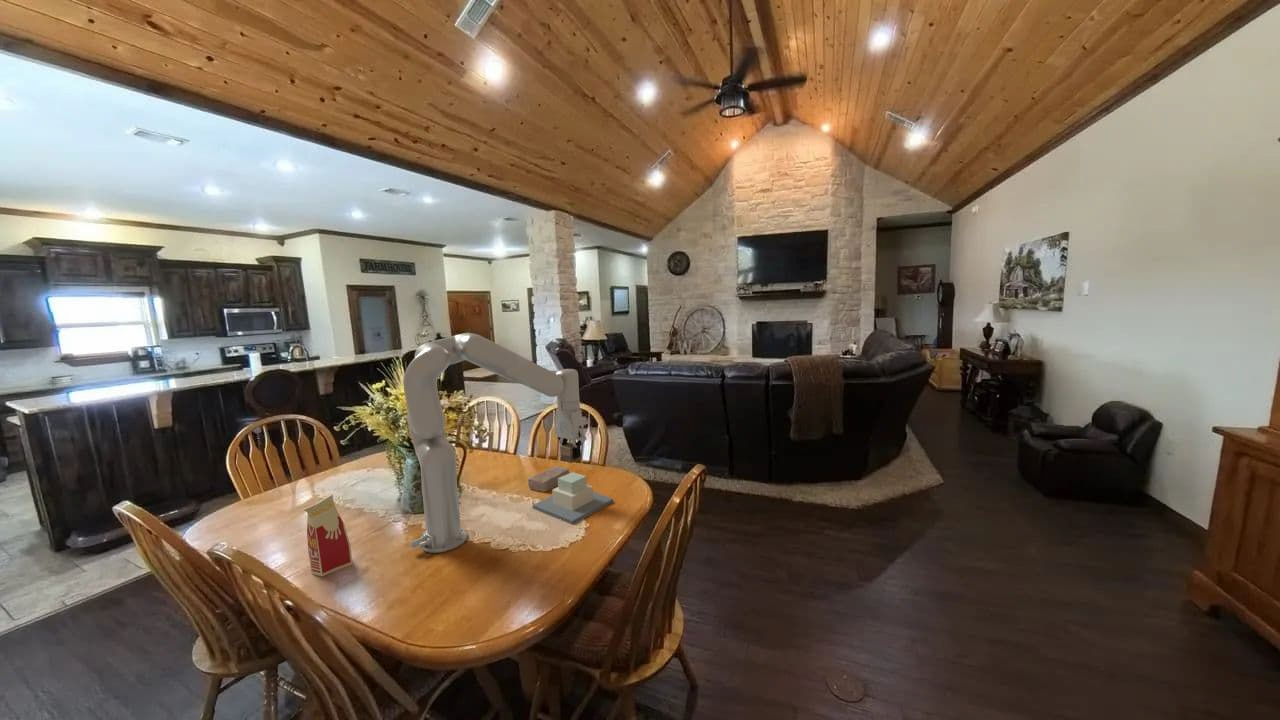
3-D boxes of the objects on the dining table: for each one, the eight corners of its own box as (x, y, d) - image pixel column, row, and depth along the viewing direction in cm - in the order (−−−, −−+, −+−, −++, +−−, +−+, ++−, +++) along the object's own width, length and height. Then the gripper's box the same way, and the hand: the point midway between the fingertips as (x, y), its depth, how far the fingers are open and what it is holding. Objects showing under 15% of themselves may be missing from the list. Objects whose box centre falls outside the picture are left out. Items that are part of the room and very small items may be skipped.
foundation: (572, 524, 144) (571, 506, 144) (532, 508, 157) (531, 491, 156) (613, 501, 160) (612, 485, 159) (574, 488, 172) (573, 473, 171)
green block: (572, 494, 153) (571, 482, 152) (558, 489, 157) (557, 478, 156) (586, 487, 158) (586, 476, 158) (572, 482, 162) (572, 472, 162)
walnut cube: (570, 463, 153) (570, 448, 152) (560, 460, 156) (560, 446, 155) (581, 458, 156) (580, 445, 156) (571, 456, 160) (570, 442, 159)
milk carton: (342, 552, 131) (335, 487, 129) (354, 563, 125) (346, 495, 123) (305, 567, 124) (296, 498, 122) (315, 579, 118) (306, 508, 116)
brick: (554, 474, 187) (554, 464, 187) (570, 478, 183) (570, 467, 183) (527, 490, 173) (526, 478, 172) (544, 494, 169) (543, 482, 168)
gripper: (543, 404, 156) (546, 454, 158) (578, 410, 145) (580, 464, 148) (560, 400, 162) (562, 448, 164) (594, 405, 151) (596, 457, 154)
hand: (571, 455), depth 156 cm, fingers closed on walnut cube, 4 cm apart
